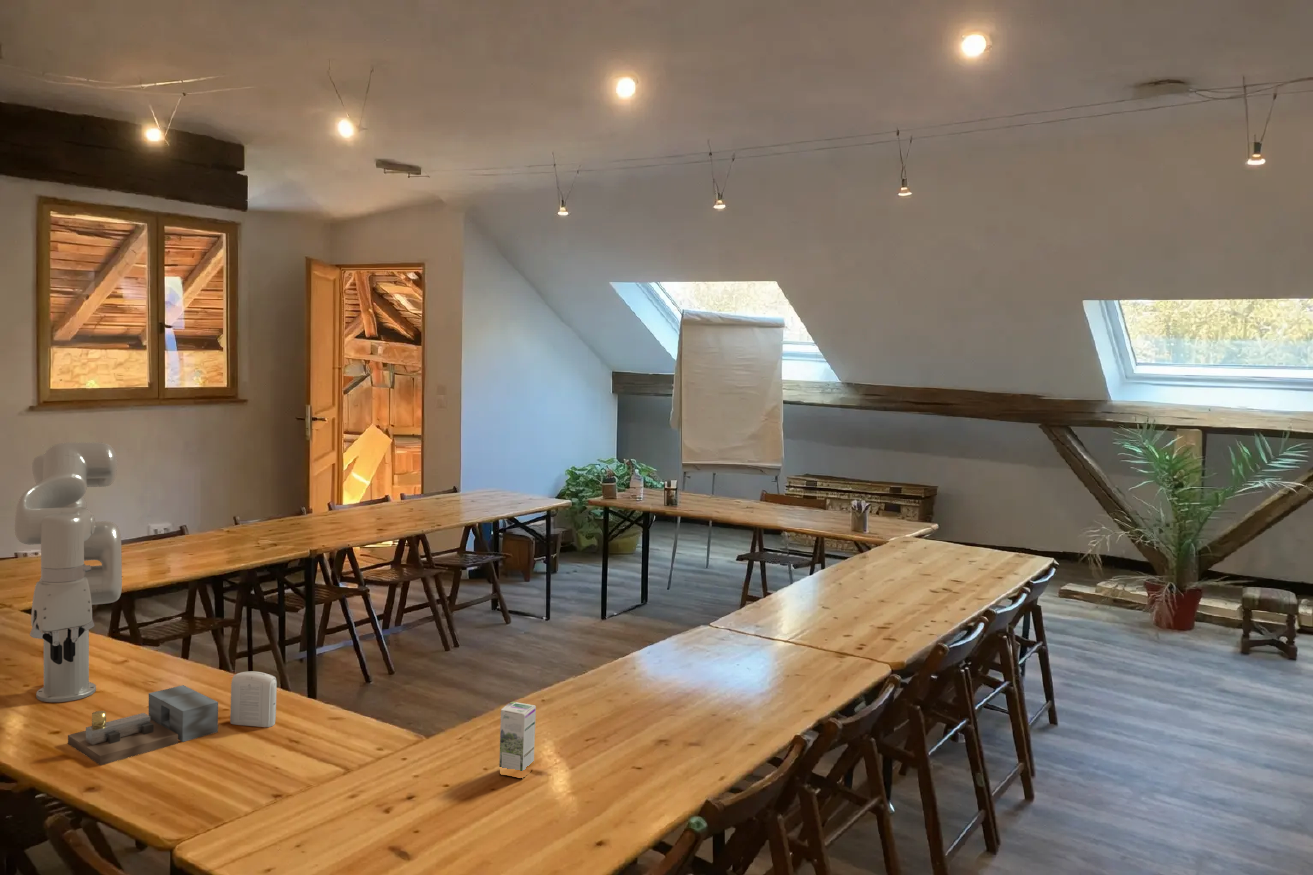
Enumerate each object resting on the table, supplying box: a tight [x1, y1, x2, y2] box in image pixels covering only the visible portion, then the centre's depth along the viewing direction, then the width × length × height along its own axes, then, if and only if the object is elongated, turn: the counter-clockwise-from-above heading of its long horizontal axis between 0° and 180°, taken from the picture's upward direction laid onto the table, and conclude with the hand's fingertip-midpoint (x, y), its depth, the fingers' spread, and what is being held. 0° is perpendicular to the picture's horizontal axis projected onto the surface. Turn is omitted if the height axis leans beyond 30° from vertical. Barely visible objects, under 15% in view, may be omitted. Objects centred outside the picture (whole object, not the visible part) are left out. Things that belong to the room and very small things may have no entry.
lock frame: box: [67, 684, 219, 766], centre depth 214 cm, size 25×16×7 cm, turn 142°
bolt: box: [85, 710, 150, 745], centre depth 209 cm, size 12×3×6 cm, turn 142°
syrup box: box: [498, 701, 537, 771], centre depth 204 cm, size 6×6×14 cm
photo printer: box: [229, 670, 278, 728], centre depth 224 cm, size 10×4×12 cm, turn 86°
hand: (62, 661), depth 199 cm, fingers closed
